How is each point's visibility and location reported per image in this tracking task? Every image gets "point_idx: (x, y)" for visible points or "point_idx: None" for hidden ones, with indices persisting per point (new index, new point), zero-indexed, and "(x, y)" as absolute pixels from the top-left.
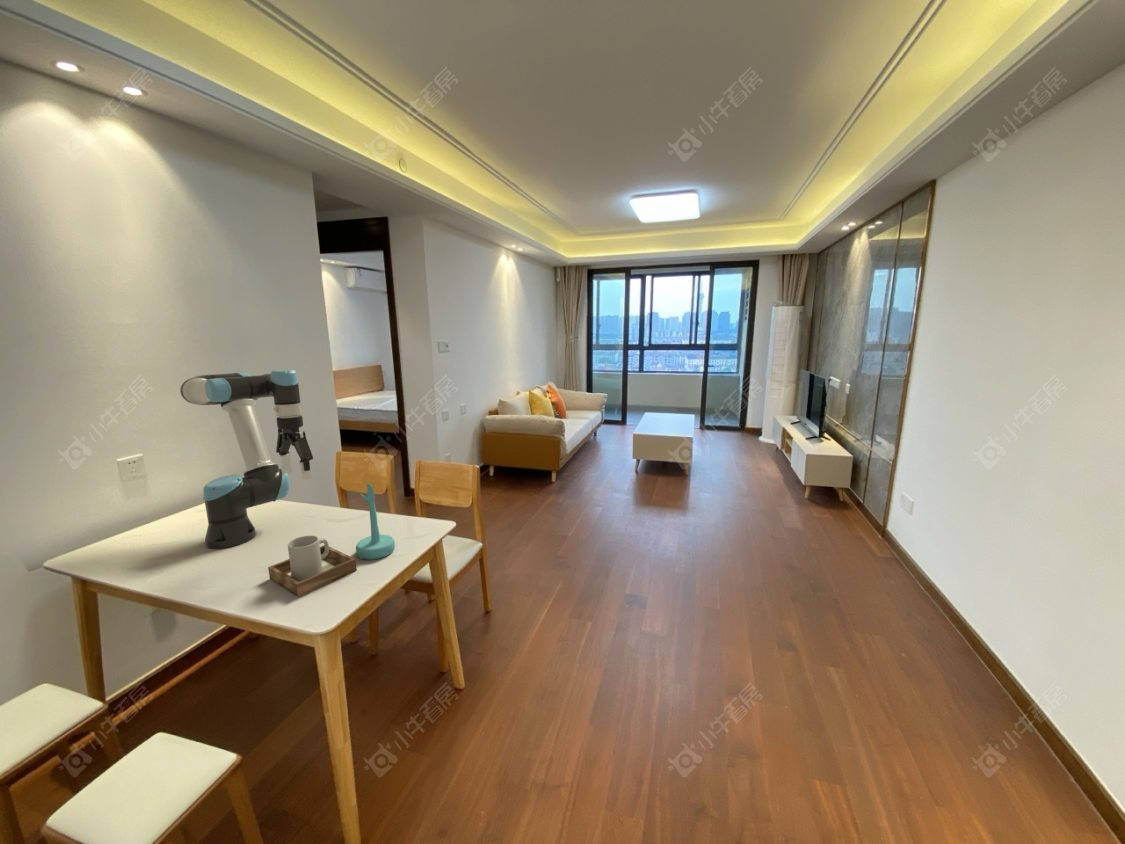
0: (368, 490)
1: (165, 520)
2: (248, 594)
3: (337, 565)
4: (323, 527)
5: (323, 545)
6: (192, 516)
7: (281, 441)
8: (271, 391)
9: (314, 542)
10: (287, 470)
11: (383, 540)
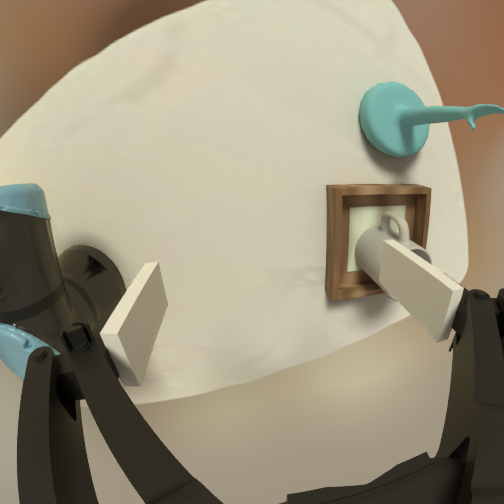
0: (484, 109)
1: None
2: (342, 320)
3: (425, 220)
4: (161, 122)
5: (335, 193)
6: None
7: (80, 478)
8: None
9: (431, 262)
10: (158, 291)
11: (409, 106)
